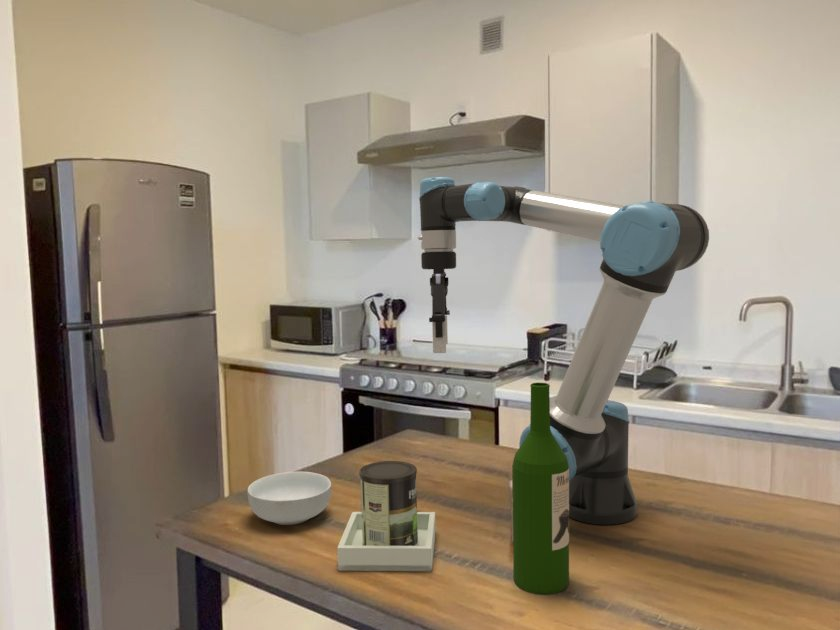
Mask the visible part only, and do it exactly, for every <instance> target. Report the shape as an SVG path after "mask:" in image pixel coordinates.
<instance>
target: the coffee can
mask: <svg viewBox="0 0 840 630" xmlns="http://www.w3.org/2000/svg"><path fill="white" fill-rule="evenodd" d="M417 471H418V470H417V466H416V465H414V464H413V463H409V462H407V461H400V460H384V461H377V462H371V463H368V464H366V465H362V466H361V468H360V469H359V472H358V473H359V474H358V475H359V477H360V479H359V480H360V502H361V504H360V506H361V507H360V508H361V511H360V512H361V513H362V538H363V543H362V546H418V531H417V512H418V505H417V504H418V500H417V498H418V496H417Z"/></svg>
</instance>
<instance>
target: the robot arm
mask: <svg viewBox="0 0 840 630" xmlns="http://www.w3.org/2000/svg"><path fill="white" fill-rule="evenodd" d="M418 200H419V211H420V212H419V213H420V215H419V216H420V234H421V235H418V236H417V239H418V241H421V242H420V243H421V245H420V246H421V247H420V248H421V249H422V250H423V251H424V252H421V253H420V255H421V256H420V257H421V258H420V259H421V268H422V269H423V270H433V271H432V272H433V274H432V275H431V277H430V278H429V285H430V286H429V287H430V296H431V297H432V300H431V302H432V304H431V305H432V307H431V308H432V310H431V317H429V318H428V321H429V322H428V323H432V353H433V354H447V345H448V337H449V336H448V316H449V315H450V314H451V313H450V310H449V309H448V307H447V296H448V294H449V293H448V290H449V289H448V287H449V277H448V276H447V273H446V271H445V270H451V269H452V270H453V269H456V267H457V253H456V251H454V250H455V249H456V248H457V230H456V229H457V228H456V223H459V222H506V223H507V222H508V223H513V224H519V225H523V226H529V227H534V228H539V229H542V230H545V231H546V230H547V231H552V232H557V233H560V234H565V235H570V236H574V237H579V238H583V239H588V240H593V241H597V242H599V247H600V249H601V252H602V255H601V256H602V261H601V264H600V267H599V271H600V273H601V275H602V278H603V283H602V285H601V288H600V290H599V293H598V296H597V297H596V300H595V302H594V305H593V307H592V309H591V312H590V315H589V317H588V319H587V322H586V324H585V327H584V328H583V331H582V334H581V336H580V339H579V341H578V344H577V346H576V349H575V351H574V353H573V356H572V359H571V361H570V363H569V366H568V368H567V370H566V373H565V375H564V378H563V380H562V383H561V385H560V388H559V390H558V392H557V394H556V395H554V396H552V397H550V396H549V397H550V430H551V433H552V435H553V436H554V438H555V439H556V441H557V443H558V444H559V446H560V447H561V449H562V450H563V452H564V454H565V455H566V457H567V461H568V465H569V519H572V520H574V521H579V522H582V523H585V524H586V523H587V524H593V525H601V526H602V525H618V524H619V525H620V524H624V523H628V522H630V521H632V520H634V519H635V518H636V516H637V515H638V505H637V499H636V497H635V493H634V490H633V487H632V484H631V481H630V478H629V427H630V426H629V424H630V420H629V409H628V407H627V405H625V404H624V403H622V402H619V401H614V400H610V399H609V398H610V396H611V394H612V391H613V390H614V387H615V385H616V383H617V380H618V378H619V376H620V373H621V371H622V369H623V367H624V364H625V362H626V360H627V358H628V355H629V353H630V351H631V348H632V347H633V345H634V342H635V340H636V337H637V335H638V333H639V331H640V328H641V326H642V324H643V322H644V319H645V317H646V315H647V313H648V310H649V309H650V306H651V304H652V301H653V300H654V299H656V298H658V297H661V296H664V295H665V294H666V293H667V292H668V289H669V287H670V284H671V283H672V280H673V278H674V276H675V274H676V272H677V271H683V270H686V269H688V268H690V267H692V266H694V265H695V264H696V263H698V262H699V261H700V260H701V259H702V257H703V256H704V254H705V253H706V252H707V249H708V246H709V243H710V242H709V241H710V229H709V227H708V224H707V222H706V220H705V219H704V217H703V216H702V215H701V214H700V213H699V212H698V211H697V210H695V209H694V208H692V207H690V206H688V205H684V204H679V203H678V204H676V203H665V202H663V203H662V202H658V201H657V202H656V201H653V200H652V201H649V200H648V201H639V202H633V203H629V204H626V205H623V204H616V203H610V202H604V201H600V200H599V201H598V200H594V199H593V200H592V199H586V198H580V197H575V196H569V195H564V194H560V193H559V194H558V193H553V192H545V191H540V190H536V189H535V190H533V189H529V188H527V187H524V186H507V185H506V186H505V185H503V186H502V185H498V184H497V183H496V182H493V181H485V182H484V181H477V182H475V183H467V184H459V185H455V180H454V178H452V177H449V176H448V177H447V176H436V177H435V176H434V177H426V178H423V179H422V180H421V181H420V185H419V198H418ZM529 431H530V424H528V426H526V427H525V428H524V429H523V431H522V432H521V433H520V438H519V445H518V449H519V448H520V446H521V444H522V443H523V441H524V440H525V438H526V437H527V435H528V434H529Z"/></svg>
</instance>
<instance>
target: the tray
mask: <svg viewBox="0 0 840 630" xmlns="http://www.w3.org/2000/svg"><path fill="white" fill-rule="evenodd" d="M351 512H352V513H351V514H350V517H349V519H348V521H347V524H346V526H345V528H344V531H343V534H342V536H341V538H340V541H339V543H338V546H337V548H336V550H337V571H340V572H341V571H342V572H344V571H345V572H347V571H349V572H350V571H351V572H352V571H353V572H354V571H355V572H356V571H358V572H359V571H361V572H362V571H363V572H365V571H366V572H368V571H369V572H432V571H433V562H434V553H435V544H436V543H435V542H436V511H417V531H418V546H362V543H363V538H362V513H361V512H362V511H351Z"/></svg>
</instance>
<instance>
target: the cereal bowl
mask: <svg viewBox="0 0 840 630" xmlns="http://www.w3.org/2000/svg"><path fill="white" fill-rule="evenodd" d="M246 493H247V500H248V505H249V507H250V510H251V511H252V512H253V513H254V514H255V515H256V516H257V517H258V518H259V519H262V520H264V521H267V522H271V523H275V524H277V525H281V526H291V525H298V524H302V523H304V522H307V521H308V520H309V519H312V518H315V517H316V516H317V515H319V514H320V513H322V512H323V511H324V510H325V509H326V508H327V506H328V505H329V503H330V501H331V500H330V499H331V496H332V481H331V479H329V477H327V476H325V475H324V474H320V473H316V472H311V471H288V472H287V471H285V472H279V473H274V474H269V475H266V476H263V477H261V478H258V479H256V480H255V481H252V482H251V484H249V486H248V487H247V491H246Z"/></svg>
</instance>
